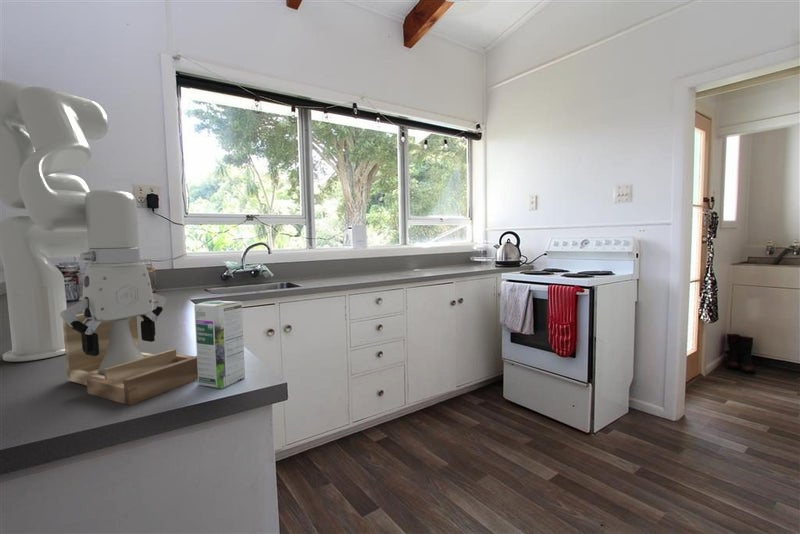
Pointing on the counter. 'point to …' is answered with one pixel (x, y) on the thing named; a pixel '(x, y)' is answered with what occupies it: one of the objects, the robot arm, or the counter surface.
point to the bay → (146, 382)
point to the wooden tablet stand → (88, 366)
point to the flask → (120, 346)
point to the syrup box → (219, 343)
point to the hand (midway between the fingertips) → (122, 347)
